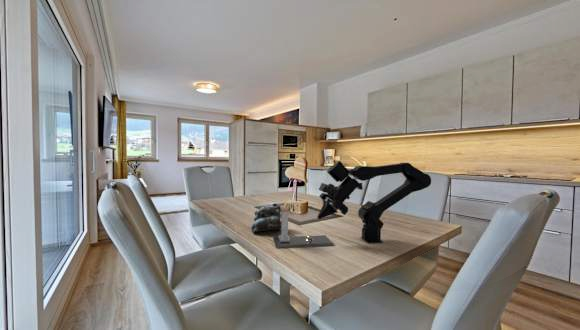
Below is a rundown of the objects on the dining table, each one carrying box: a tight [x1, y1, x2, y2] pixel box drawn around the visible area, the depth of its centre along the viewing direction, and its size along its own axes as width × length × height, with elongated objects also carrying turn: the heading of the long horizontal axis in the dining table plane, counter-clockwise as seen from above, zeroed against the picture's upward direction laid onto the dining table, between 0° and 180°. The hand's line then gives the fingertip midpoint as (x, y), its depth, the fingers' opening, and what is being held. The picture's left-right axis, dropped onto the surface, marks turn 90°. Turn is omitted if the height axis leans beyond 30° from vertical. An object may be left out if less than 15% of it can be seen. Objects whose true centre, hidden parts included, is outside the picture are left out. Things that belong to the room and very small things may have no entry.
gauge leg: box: [277, 207, 291, 242], centre depth 91 cm, size 4×4×12 cm
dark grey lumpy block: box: [251, 203, 282, 234], centre depth 107 cm, size 15×12×14 cm
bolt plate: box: [272, 234, 334, 249], centre depth 93 cm, size 22×9×2 cm, turn 100°
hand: (318, 218), depth 93 cm, fingers closed
